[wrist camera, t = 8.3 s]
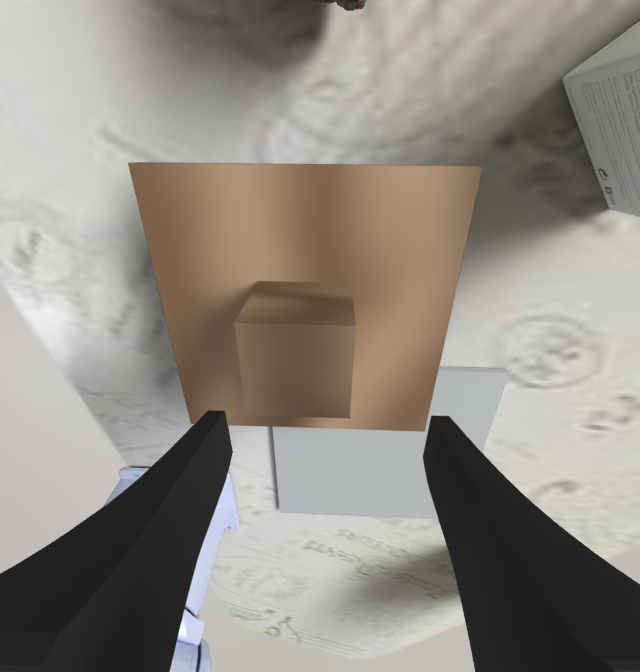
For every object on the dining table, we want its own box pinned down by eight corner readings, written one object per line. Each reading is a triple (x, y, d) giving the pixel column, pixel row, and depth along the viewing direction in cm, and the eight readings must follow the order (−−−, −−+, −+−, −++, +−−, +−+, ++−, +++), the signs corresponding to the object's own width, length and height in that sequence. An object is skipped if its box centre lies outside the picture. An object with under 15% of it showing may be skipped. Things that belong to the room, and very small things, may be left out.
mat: (280, 507, 31) (279, 512, 30) (268, 362, 23) (267, 366, 23) (456, 514, 30) (458, 519, 30) (505, 368, 22) (509, 372, 22)
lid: (196, 413, 19) (158, 486, 15) (138, 162, 13) (47, 168, 9) (421, 421, 19) (445, 497, 15) (474, 165, 13) (542, 174, 9)
